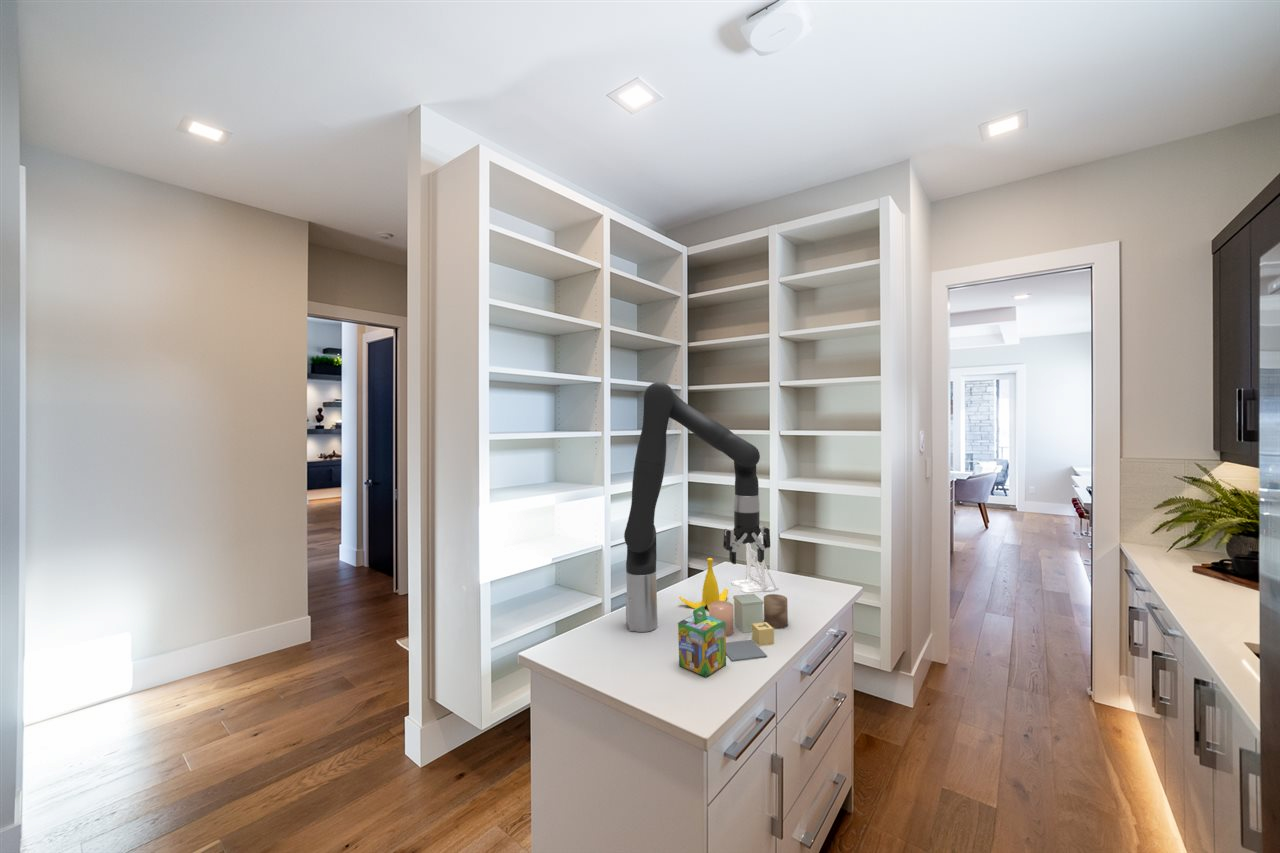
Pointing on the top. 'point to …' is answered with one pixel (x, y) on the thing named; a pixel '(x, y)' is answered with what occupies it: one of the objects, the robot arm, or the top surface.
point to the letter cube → (763, 633)
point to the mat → (743, 650)
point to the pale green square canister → (747, 611)
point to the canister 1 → (723, 614)
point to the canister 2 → (776, 611)
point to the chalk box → (702, 643)
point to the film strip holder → (754, 585)
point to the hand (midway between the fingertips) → (746, 562)
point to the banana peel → (708, 590)
